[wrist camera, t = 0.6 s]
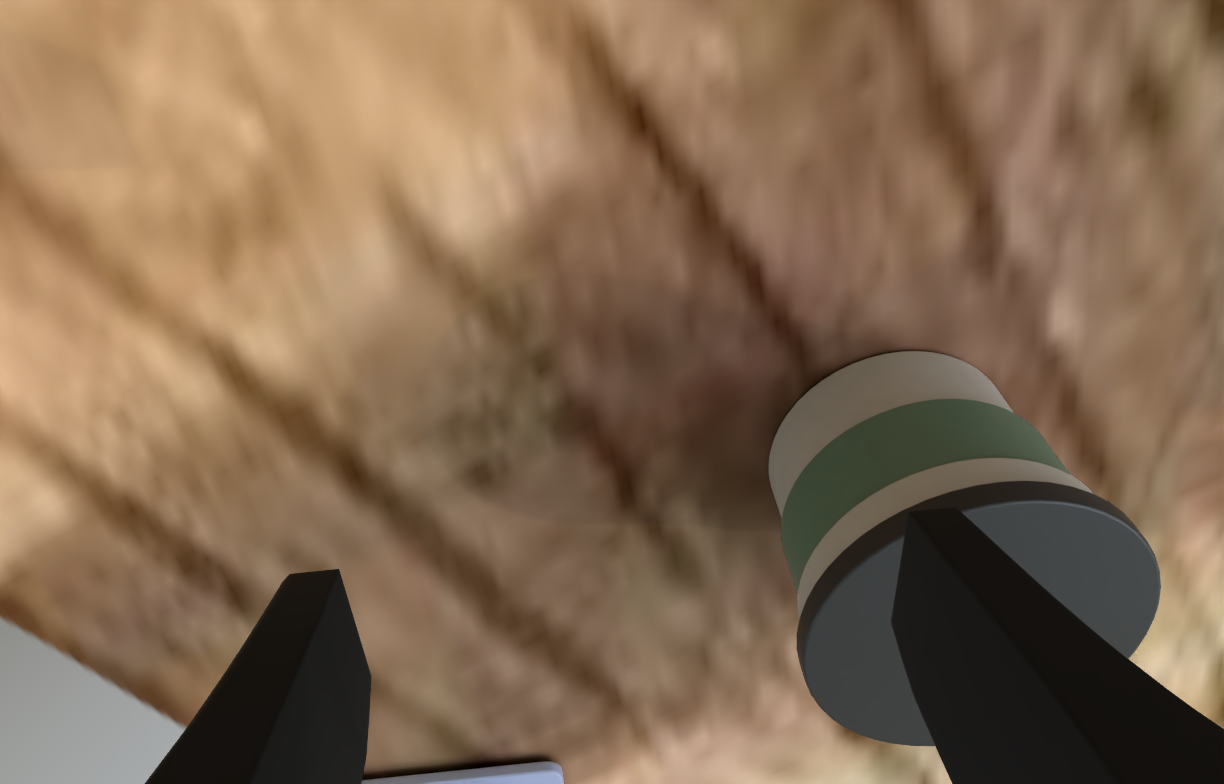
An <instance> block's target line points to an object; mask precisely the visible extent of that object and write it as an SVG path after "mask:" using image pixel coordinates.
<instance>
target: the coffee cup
mask: <svg viewBox="0 0 1224 784" xmlns="http://www.w3.org/2000/svg"><path fill="white" fill-rule="evenodd" d="M769 479H770V484H771V488H772V491H773V494H774V497H775V500H776V503H777V506H778V509H779V512H780V515H781V518H782V521H781V541H782V546H783V551H784V554H785V557H786V560H787V563H788V566H789V569H790V572H791V576H792V579H793V582H794V585H795V588H796V591H797V594H798V595H797V612H798V617H799V625H798V631H797V652H798V657H799V662H800V666H801V669H802V672H803V676H804V679H805V682H806V684H807V687H808V689H809V691H810V693H811V695H812V697H813V698H814V700H815V701H816V702H817V704H818V705H819V707H820V708H821V709H822V710H823V711H824V712H826V713H827V714H828V715H829V716H830V717H831V718H832V719H833V720H835V721H836V722H838V723H839V724H841V725H842V726H843V727H845V728H847V729H849V730H851V731H853V732H855V733H857V734H860V735H863V736H866V737H869V738H872V739H875V740H879V741H883V742H888V743H893V744H901V745H910V746H935V744H934V741H933V739H932V737H931V735H930V732H929V730H928V728H927V726H926V723H925V721H924V719H923V717H922V714H921V712H920V710H919V707H918V705H917V703H916V700H915V698H914V696H913V693H912V690H911V686H910V683H909V680H908V677H907V674H906V671H905V668H904V665H903V662H902V658H901V655H900V651H899V648H898V645H897V641H896V638H895V634H894V631H893V628H892V624H891V618H892V612H893V605H894V599H895V593H896V587H897V580H898V574H899V568H900V561H901V555H902V549H903V543H904V536H905V530H906V524H907V518H908V512H910V511H919V510H929V509H939V508H949V507H956V508H957V509H959V510H960V511H961V512H962V513H963V514H964V515H965V516H966V517H967V518H968V519H970V520H971V521H972V522H973V523H974V524H975V525H976V526H977V527H978V528H979V529H981V530H982V531H983V532H984V533H985V534H986V535H987V536H988V537H989V538H990V539H991V540H992V541H993V542H995V543H996V544H997V545H998V546H999V547H1000V548H1001V549H1002V550H1003V551H1004V552H1005V553H1006V554H1008V555H1009V556H1010V557H1011V558H1012V559H1013V560H1014V561H1015V562H1016V563H1017V564H1018V565H1020V566H1021V567H1022V568H1023V569H1024V570H1025V571H1026V572H1027V573H1028V574H1029V575H1030V576H1032V577H1033V578H1034V579H1035V580H1036V581H1037V582H1038V583H1039V584H1040V585H1042V586H1043V587H1044V588H1045V589H1046V590H1047V591H1048V592H1049V593H1051V594H1052V595H1053V596H1054V597H1055V598H1056V599H1057V600H1058V601H1060V602H1061V603H1062V604H1063V605H1064V606H1065V607H1067V608H1068V609H1069V610H1070V611H1071V612H1072V613H1074V614H1075V615H1076V616H1077V617H1078V618H1079V619H1081V620H1082V621H1083V622H1084V623H1085V624H1086V625H1088V626H1089V627H1090V628H1091V629H1092V630H1093V631H1095V632H1096V633H1097V634H1098V635H1099V636H1100V637H1102V638H1103V639H1104V640H1105V641H1106V642H1108V643H1109V644H1110V645H1111V646H1113V647H1114V648H1115V649H1116V650H1117V651H1119V652H1120V653H1121V654H1122V655H1124V656H1125V657H1126V658H1127V659H1129V657H1130V656H1131V655H1132V654H1133V653H1134V652H1135V650H1136V649H1137V648H1138V646H1139V645H1140V643H1141V642H1142V640H1143V639H1144V637H1145V636H1146V634H1147V632H1148V630H1149V628H1150V626H1151V624H1152V622H1153V620H1154V617H1155V614H1156V610H1157V607H1158V604H1159V597H1160V589H1161V584H1160V571H1159V567H1158V564H1157V561H1156V557H1155V554H1154V553H1153V551H1152V549H1151V547H1150V546H1149V544H1148V542H1147V541H1146V539H1145V538H1144V537H1143V535H1142V534H1141V533H1140V531H1139V530H1138V529H1137V528H1136V526H1135V525H1134V524H1133V523H1132V522H1131V520H1130V519H1129V518H1128V517H1127V516H1126V515H1125V514H1124V513H1123V512H1122V511H1121V510H1119V509H1118V508H1117V507H1115V506H1114V505H1113V504H1111V503H1110V502H1108V501H1106V500H1104V499H1102V498H1100V497H1098V496H1096V495H1094V494H1093V493H1092V492H1091V490H1090V489H1089V488H1088V487H1087V486H1085V485H1084V484H1083V483H1081V482H1080V481H1079V480H1077V479H1076V478H1075V477H1073V476H1071V475H1070V473H1069V472H1068V470H1067V469H1066V468H1065V466H1064V465H1063V464H1062V462H1061V461H1060V460H1059V458H1058V457H1057V455H1056V454H1055V453H1054V451H1053V450H1052V449H1051V447H1050V446H1049V445H1048V443H1047V442H1046V440H1045V439H1044V438H1043V436H1042V435H1041V434H1040V433H1039V432H1038V431H1037V430H1036V429H1035V428H1034V426H1033V425H1031V424H1030V423H1029V422H1027V421H1026V420H1025V419H1023V418H1022V417H1020V416H1019V415H1017V414H1015V413H1014V412H1013V411H1012V409H1011V408H1010V407H1009V405H1008V404H1007V402H1006V401H1005V400H1004V398H1003V397H1002V396H1001V394H1000V393H999V391H998V390H997V389H996V387H995V386H994V384H993V383H992V382H991V381H990V380H989V379H988V378H987V377H986V376H985V375H984V374H983V373H982V372H980V371H979V370H978V369H976V368H975V367H973V366H971V365H970V364H968V363H966V362H964V361H962V360H959V359H956V358H954V357H951V356H948V355H943V354H939V353H934V352H924V351H901V352H894V353H887V354H882V355H878V356H874V357H870V358H867V359H864V360H861V361H859V362H856V363H853V364H851V365H849V366H847V367H845V368H842V369H840V370H838V371H836V372H835V373H833V374H831V375H830V376H828V377H827V378H825V379H823V380H822V381H821V382H819V383H818V384H817V385H815V386H814V387H813V388H811V389H810V390H809V391H808V392H807V393H806V394H805V395H804V396H803V397H802V398H801V399H800V400H798V402H797V403H796V404H795V405H794V406H793V408H792V409H791V410H790V411H789V412H788V414H787V415H786V417H785V419H784V420H783V422H782V423H781V425H780V427H779V429H778V431H777V433H776V435H775V438H774V441H773V444H772V447H771V451H770V457H769Z"/></svg>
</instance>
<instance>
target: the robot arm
mask: <svg viewBox="0 0 1224 784" xmlns="http://www.w3.org/2000/svg"><path fill="white" fill-rule="evenodd" d="M891 624H892V628H893V631H894V634H895V638H896V641H897V645H898V648H899V651H900V655H901V658H902V662H903V665H904V668H905V671H906V674H907V677H908V680H909V683H910V686H911V690H912V693H913V696H914V698H915V700H916V703H917V705H918V707H919V710H920V712H921V714H922V717H923V719H924V721H925V723H926V726H927V728H928V730H929V732H930V735H931V737H932V739H933V741H934V744H935V746H936V748H937V750H938V753H939V755H940V757H941V759H942V762H943V764H944V766H945V768H946V770H947V773H948V775H949V777H950V779H951V781H952V784H1224V729H1223V728H1221V727H1220V726H1218V725H1217V724H1215V723H1214V722H1212V721H1211V720H1209V719H1208V718H1207V717H1205V716H1204V715H1202V714H1201V713H1199V712H1198V711H1196V710H1195V709H1194V708H1192V707H1191V706H1189V705H1188V704H1187V703H1185V702H1184V701H1183V700H1181V699H1180V698H1178V697H1177V696H1176V695H1174V694H1173V693H1172V692H1170V691H1169V690H1167V689H1166V688H1165V687H1164V686H1162V685H1161V684H1160V683H1158V682H1157V681H1156V680H1154V679H1153V678H1152V677H1151V676H1149V675H1148V674H1147V673H1145V672H1144V671H1143V670H1142V669H1140V668H1139V667H1138V666H1136V665H1135V664H1134V663H1133V662H1131V661H1130V660H1129V659H1127V658H1126V657H1125V656H1124V655H1122V654H1121V653H1120V652H1119V651H1117V650H1116V649H1115V648H1114V647H1113V646H1111V645H1110V644H1109V643H1108V642H1106V641H1105V640H1104V639H1103V638H1102V637H1100V636H1099V635H1098V634H1097V633H1096V632H1095V631H1093V630H1092V629H1091V628H1090V627H1089V626H1088V625H1086V624H1085V623H1084V622H1083V621H1082V620H1081V619H1079V618H1078V617H1077V616H1076V615H1075V614H1074V613H1072V612H1071V611H1070V610H1069V609H1068V608H1067V607H1065V606H1064V605H1063V604H1062V603H1061V602H1060V601H1058V600H1057V599H1056V598H1055V597H1054V596H1053V595H1052V594H1051V593H1049V592H1048V591H1047V590H1046V589H1045V588H1044V587H1043V586H1042V585H1040V584H1039V583H1038V582H1037V581H1036V580H1035V579H1034V578H1033V577H1032V576H1030V575H1029V574H1028V573H1027V572H1026V571H1025V570H1024V569H1023V568H1022V567H1021V566H1020V565H1018V564H1017V563H1016V562H1015V561H1014V560H1013V559H1012V558H1011V557H1010V556H1009V555H1008V554H1006V553H1005V552H1004V551H1003V550H1002V549H1001V548H1000V547H999V546H998V545H997V544H996V543H995V542H993V541H992V540H991V539H990V538H989V537H988V536H987V535H986V534H985V533H984V532H983V531H982V530H981V529H979V528H978V527H977V526H976V525H975V524H974V523H973V522H972V521H971V520H970V519H968V518H967V517H966V516H965V515H964V514H963V513H962V512H961V511H960V510H959V509H957V508H956V507H949V508H939V509H929V510H919V511H910V512H908V518H907V524H906V530H905V536H904V543H903V549H902V555H901V561H900V568H899V574H898V580H897V587H896V593H895V599H894V605H893V612H892V618H891ZM370 693H371V674H370V671H369V667H368V664H367V661H366V657H365V654H364V651H363V647H362V644H361V641H360V637H359V634H358V631H357V627H356V624H355V621H354V617H353V614H352V611H351V608H350V604H349V601H348V598H347V594H346V591H345V588H344V584H343V581H342V578H341V574H340V571H339V569H335V570H325V571H315V572H305V573H295V574H289V575H288V577H287V578H286V579H285V580H284V581H283V582H282V584H281V585H280V587H279V589H278V590H277V592H276V593H275V595H274V597H273V598H272V600H271V602H270V603H269V605H268V606H267V608H266V610H265V611H264V613H263V614H262V616H261V618H260V619H259V621H258V622H257V624H256V626H255V627H254V629H253V630H252V632H251V634H250V635H249V637H248V638H247V640H246V641H245V643H244V644H243V646H242V648H241V649H240V651H239V652H238V654H237V655H236V657H235V658H234V660H233V661H232V663H231V664H230V666H229V668H228V669H227V671H226V672H225V673H224V675H223V676H222V678H221V679H220V681H219V682H218V684H217V685H216V687H215V688H214V689H213V691H212V692H211V694H210V695H209V697H208V698H207V700H206V701H205V703H204V704H203V705H202V707H201V708H200V710H199V711H198V713H197V714H196V716H195V717H194V719H193V720H192V721H191V723H190V724H189V726H188V727H187V728H186V730H185V731H184V732H183V734H182V735H181V736H180V738H179V739H178V740H177V742H176V743H175V744H174V746H173V747H172V748H171V750H170V751H169V752H168V754H167V755H166V756H165V758H164V759H163V760H162V762H161V763H160V764H159V766H158V767H157V768H156V769H155V771H154V772H153V773H152V775H151V776H150V778H149V779H148V780H147V781H146V783H145V784H564V779H563V771H562V768H561V766H560V765H558V764H557V763H554V762H551V761H544V762H534V763H524V764H514V765H505V766H495V767H485V768H476V769H466V770H456V771H446V772H437V773H427V774H417V775H408V776H398V777H388V778H378V779H369V780H362V778H363V772H364V766H365V760H366V754H367V740H368V727H369V711H370Z"/></svg>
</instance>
